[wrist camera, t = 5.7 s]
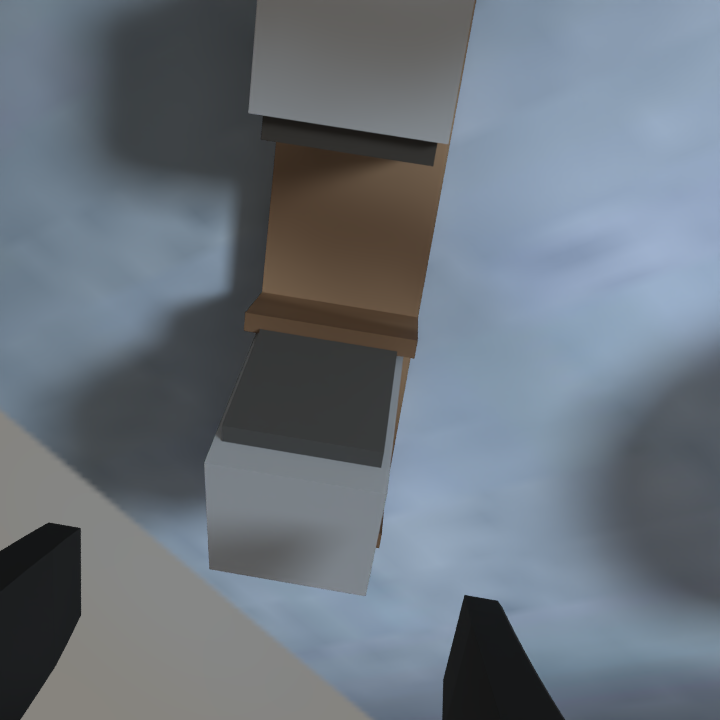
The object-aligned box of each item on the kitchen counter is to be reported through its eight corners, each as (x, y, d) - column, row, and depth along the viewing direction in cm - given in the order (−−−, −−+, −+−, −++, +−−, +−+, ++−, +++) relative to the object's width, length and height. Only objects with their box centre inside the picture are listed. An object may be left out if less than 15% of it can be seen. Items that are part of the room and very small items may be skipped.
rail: (384, 489, 23) (373, 607, 18) (252, 467, 23) (202, 577, 18) (483, -56, 17) (511, -124, 12) (306, -83, 17) (256, -161, 12)
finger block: (384, 452, 21) (365, 595, 17) (256, 430, 21) (209, 568, 17) (406, 336, 18) (390, 478, 14) (259, 312, 18) (203, 447, 15)
